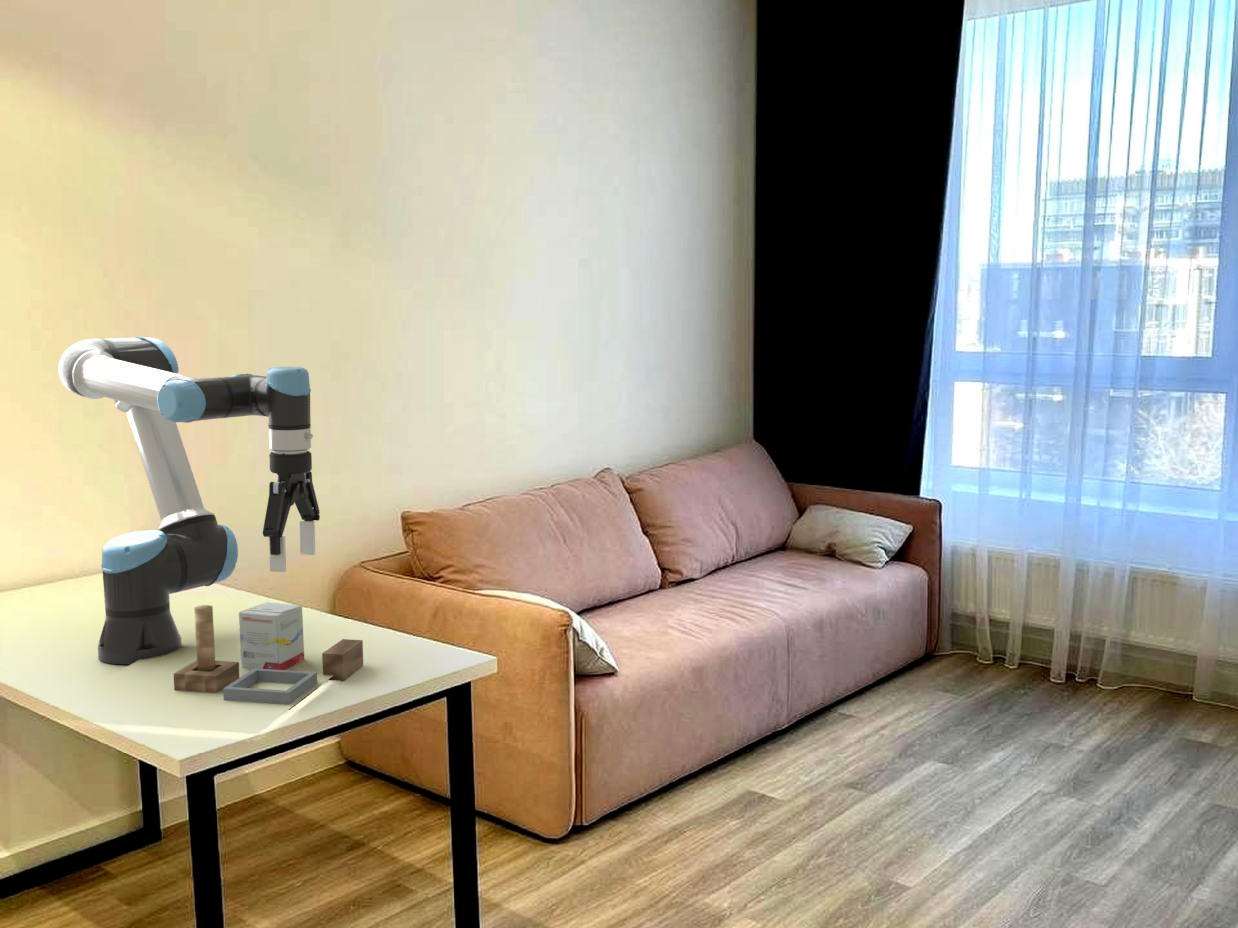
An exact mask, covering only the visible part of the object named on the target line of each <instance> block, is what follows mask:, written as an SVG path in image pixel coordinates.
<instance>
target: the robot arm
mask: <svg viewBox="0 0 1238 928" xmlns="http://www.w3.org/2000/svg"><path fill="white" fill-rule="evenodd" d="M179 371H180V370H179V365H178V361H177V358H176V356H175V354H174V351H172V349H171V348H170V346H169V345H167V344H166V343H165V342H164V341H162V340H160V339H158V338H155V337H144V336H134V337H119V338H118V337H116V338H91V339H90V338H88V339H84V340H80V341H78V342H75V343H73V344H71V346H69V347H68V348H67V349H66V350H65V351H64V352H63V354H61V358H60V360H59V362H58V375H59V379H60V381H61V383H62V384H63V386H64V387H65V389H67V390H68V391H70V392H71V393H72V394H74V395H77V396H80V397H83V398H87V399H90V400H91V399H92V400H98V399H103V398H108V399H110V400H111V399H112V400H113V402H114V405H115V407H116V409H117V410H119V411H121V412H123V413H125V414H126V416H127V420H128V422H129V425H130V428H131V432H132V434H133V438H134V440H135V444H136V447H137V449H138V454H139V456H140V459H141V462H142V465H143V468H144V472H145V474H146V478H147V481H148V484H149V487H150V491H151V494H152V497H153V498H154V502H155V505H156V508H157V512H158V515H159V517H160V518H159V519H160V521H161V523H160V525H159V526H158V528H157V529H143V530H139V531H130V532H128V533H123V534H121V535H118V536H115V537H113V538H111V539H110V540H108V541H107V542H105V544H104V546H103V547H102V552H101V564H100V568H101V571H102V581H103V584H102V585H103V595H104V596H103V597H104V609H105V613H104V614H105V618H104V619H105V620H104V623H103V626H102V630H101V634H100V637H99V641H98V644H97V657H98V660H99V661H100V662H103V663H107V664H112V665H132V664H133V665H134V663H137V662H138V661H141V660H147V659H154V658H159V657H162V656H166V655H168V654H171V653H174V652H176V651H177V650H179V649H180V648H181V647H182V637H181V634H180V632H179V630H178V626H177V624H176V622H175V620H174V618H173V615H172V613H171V605H170V604H171V602H170V595H171V594H177V593H180V592H185V591H189V590H192V589H197V588H200V587H201V588H202V587H210V586H212V585H214V584H217V583H219V582H220V583H221V582H223V581H225V580H227V579H229V578H230V576H231V575H232V574H233V572H234V571H235V568H236V564H237V563H238V557H239V549H238V546H239V545H238V542H237V538H236V535H235V533H234V532H233V531H232V529H230V528H229V527H228V526H227V525H223V524H221V523H220V524H218V521H217V520H218V519H217V517H216V515H215V513H213V512H211V511H209V510H207V509H205V507H204V506H205V505H204V503H203V501H202V497H201V494H200V492H199V488H198V486H197V483H196V480H195V477H194V473H193V469H192V467H191V464H190V462H189V457H188V455H187V451H186V449H185V447H184V445H185V444H184V442H183V440H182V437H181V433H180V431H179V430H180V429H179V426H178V425H177V423H186V424H187V423H192V422H196V421H197V422H199V421H208V420H217V419H226V418H227V419H228V418H236V417H250V416H259V417H267V418H268V449H269V450H270V451H271V452H270V453H269V471H270V472H271V473H273V474H276V475H277V481H270V482H269V488H268V489H269V490H268V494H269V495H268V500H267V505H266V511H265V517H264V524H263V529H262V535H263V537H265V538H266V537H267V538H268V541H269V542H268V543H269V568H270V569H269V572H272V573H273V572H274V573H285V572H287V559H286V558H287V557H286V555H287V554H286V552H287V551H286V536H283V535H284V532H285V528H286V525H287V524H286V523H287V521H288V517H289V514H290V510H291V507H293V506H294V505H295V507H296V508H297V511H298V513H299V515H300V518H301V520H300V521H299V547H300V548H299V549H300V555H305V556H315V555H316V529H315V528H316V527H315V526H316V525H315V524H316V523H315V521H320V520H321V519H320V518H321V517H320V507H319V503H318V500H317V495H316V491H315V488H314V483H313V473H312V469H313V465H312V464H313V463H312V462H313V461H312V460H313V459H312V452H311V451H309V450H310V449H311V448H312V439H313V438H314V435H313V433H311V432H312V431H311V430H312V429H311V428H312V427H311V425H312V424H311V423H312V422H311V419H312V418H311V391H312V389H311V384H310V374H309V371H308V369H306V368H304V367H301V366H274V367H269V368H268V370H267V371H266V375H264V376H263V375H255V374H252V373H243V374H242V373H239V374H237V373H236V374H233V375H231V376H223V377H222V376H221V377H210V378H209V377H208V378H207V377H205V378H197V377H191V376H186V375H184V374H183V375H182V374H178V373H179Z"/></svg>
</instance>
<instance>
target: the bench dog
mask: <svg viewBox="0 0 1238 928" xmlns="http://www.w3.org/2000/svg"><path fill="white" fill-rule="evenodd" d="M363 645H364V642H363V640H362V639H351V638H350V639H349V638H342V639H341V640H339V641H338V642H336V643H335V644H334V645H332V646H331V647H329V648H328V649H327V650H324V652H322V653H321V655H322V657H321V658H322V675H323V676H330V677H329V678H328V679H327V681H333V682H335V681H336V682H338V681H339V682H345V681H346V680H348V678H350V677H352V676H353V675H354V674H355V673H356V672H357V671H359V670H360V669H362V667H364V646H363Z"/></svg>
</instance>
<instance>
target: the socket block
mask: <svg viewBox="0 0 1238 928" xmlns="http://www.w3.org/2000/svg"><path fill="white" fill-rule="evenodd" d="M215 665H216V669H215V670H213V671H211V672H208V671H198V666H197V659H196V660H195V661H193V662H192V663H190V664H188V665H186V666H184V667H183V668H181V669H179V670H177V671H176V672H173V689H174V691H177V692H178V691H179V692H180V691H181V692H193V693H209V694H218V693H219V692H221V691H223V688H225V687H226V686H228V685H229V684H231V683H232V682H234V681H236V680H237V679H239V678H240V677H241V676H240V662H239V661H228V660H215Z"/></svg>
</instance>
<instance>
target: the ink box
mask: <svg viewBox="0 0 1238 928" xmlns="http://www.w3.org/2000/svg"><path fill="white" fill-rule="evenodd" d="M303 621H304V620H303V606H302V605H299V604H298V605H297V604H289V603H288V604H286V603H278V602H271V601H266V602H263V603H260V604H258V605H255V606H252V607H249V608H247V609H244V610H241V611H239V612H238V622H239V623H238V624H239V641H240V643H239V644H240V661H241V662H240V664H241V669H245V670H253V669H254V668H258V669H274V670H288V669H289V668H292V667H294V666H295V665H297V664H299V663H301V662H303V661H305V648H304V647H305V645H304V644H305V643H304V642H305V641H304V622H303Z"/></svg>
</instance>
